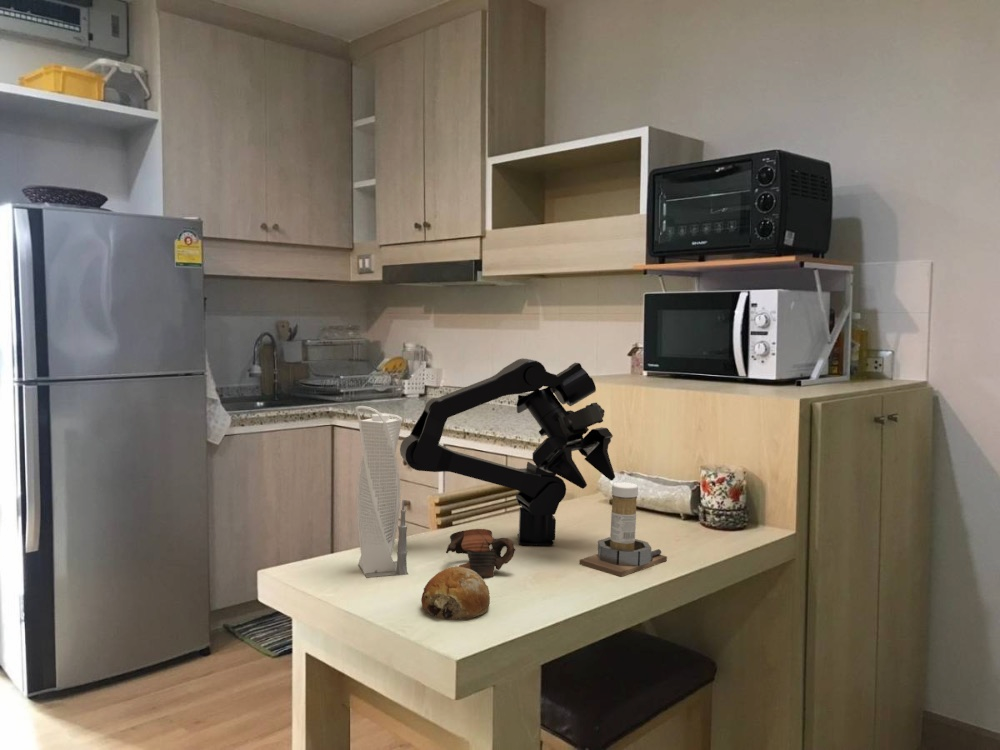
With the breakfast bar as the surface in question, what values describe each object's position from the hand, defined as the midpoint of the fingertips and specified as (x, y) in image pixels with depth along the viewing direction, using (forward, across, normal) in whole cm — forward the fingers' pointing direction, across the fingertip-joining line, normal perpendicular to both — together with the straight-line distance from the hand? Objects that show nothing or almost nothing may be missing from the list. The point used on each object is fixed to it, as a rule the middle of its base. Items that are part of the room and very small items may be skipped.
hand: (599, 483), depth 148 cm
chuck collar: (+13, +1, +5) cm, 14 cm away
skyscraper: (-6, -34, +24) cm, 42 cm away
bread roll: (+9, -38, +9) cm, 40 cm away
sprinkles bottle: (+13, 0, +5) cm, 14 cm away
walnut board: (+13, 0, +6) cm, 15 cm away
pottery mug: (+3, -22, +16) cm, 27 cm away
